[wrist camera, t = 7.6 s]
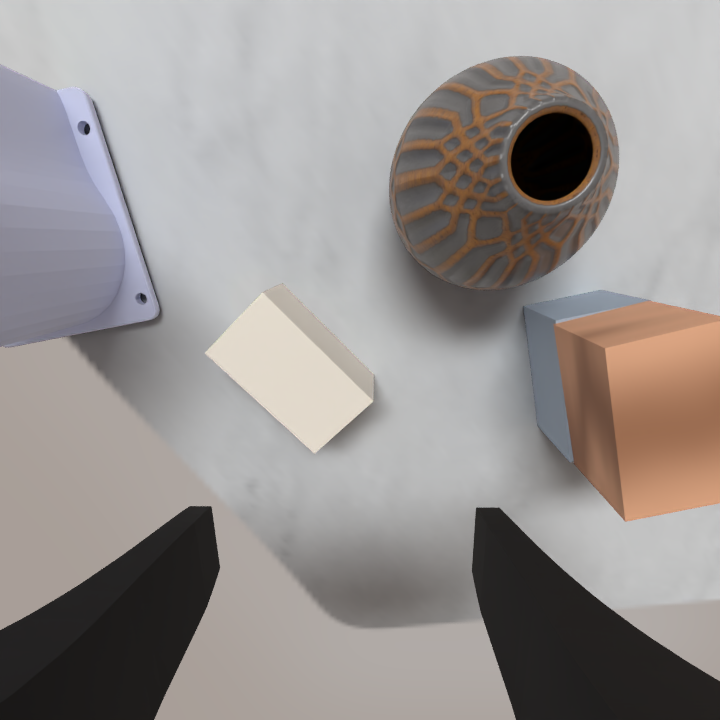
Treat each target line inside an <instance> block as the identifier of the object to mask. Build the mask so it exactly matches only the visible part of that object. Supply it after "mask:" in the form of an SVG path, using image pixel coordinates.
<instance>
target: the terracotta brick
mask: <svg viewBox="0 0 720 720" xmlns="http://www.w3.org/2000/svg"><path fill="white" fill-rule="evenodd" d="M553 326H554V332H555V339H556V346H557V352H558V359H559V366H560V372H561V379H562V386H563V392H564V399H565V406H566V412H567V419H568V426H569V432H570V439H571V446H572V452H573V459H574V464H575V466H576V467H577V468H578V469H579V470H580V471H581V472H582V473H583V475H584V476H585V477H586V478H587V479H588V480H589V481H590V482H591V484H592V485H593V486H594V487H595V488H596V489H597V490H598V491H599V493H600V494H601V495H602V496H603V497H604V498H605V499H606V500H607V501H608V503H609V504H610V505H611V506H612V507H613V508H614V509H615V510H616V512H617V513H618V514H619V515H620V516H621V517H622V518H623V519H624V521H625V522H626V521H631V520H636V519H641V518H646V517H651V516H656V515H661V514H667V513H672V512H677V511H682V510H687V509H692V508H697V507H702V506H707V505H713V504H718V503H720V316H717V315H712V314H708V313H703V312H699V311H694V310H689V309H685V308H680V307H676V306H671V305H666V304H662V303H657V302H653V301H645V302H641V303H637V304H633V305H629V306H625V307H621V308H617V309H613V310H609V311H605V312H601V313H597V314H593V315H589V316H585V317H581V318H576V319H572V320H568V321H564V322H560V323H556V324H553Z"/></svg>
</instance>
